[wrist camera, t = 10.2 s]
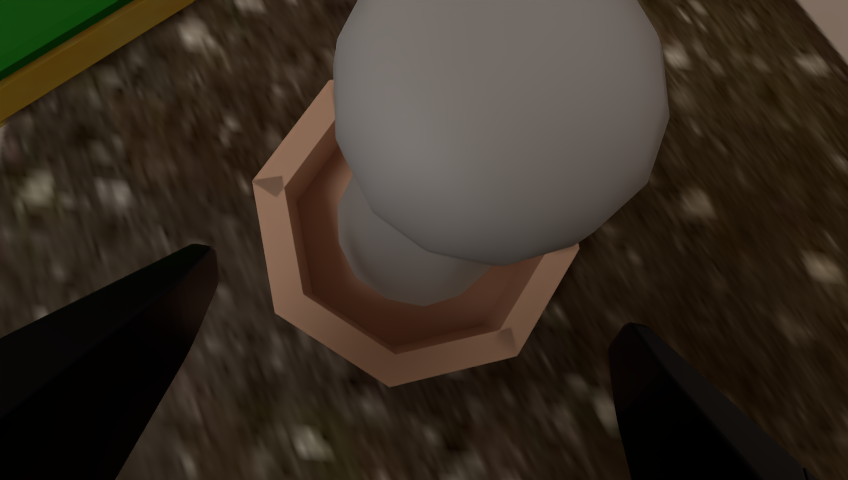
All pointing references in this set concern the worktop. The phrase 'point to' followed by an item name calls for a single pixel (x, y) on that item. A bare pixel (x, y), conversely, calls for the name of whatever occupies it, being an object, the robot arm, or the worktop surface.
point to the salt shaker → (488, 133)
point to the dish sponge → (65, 40)
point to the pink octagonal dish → (357, 302)
